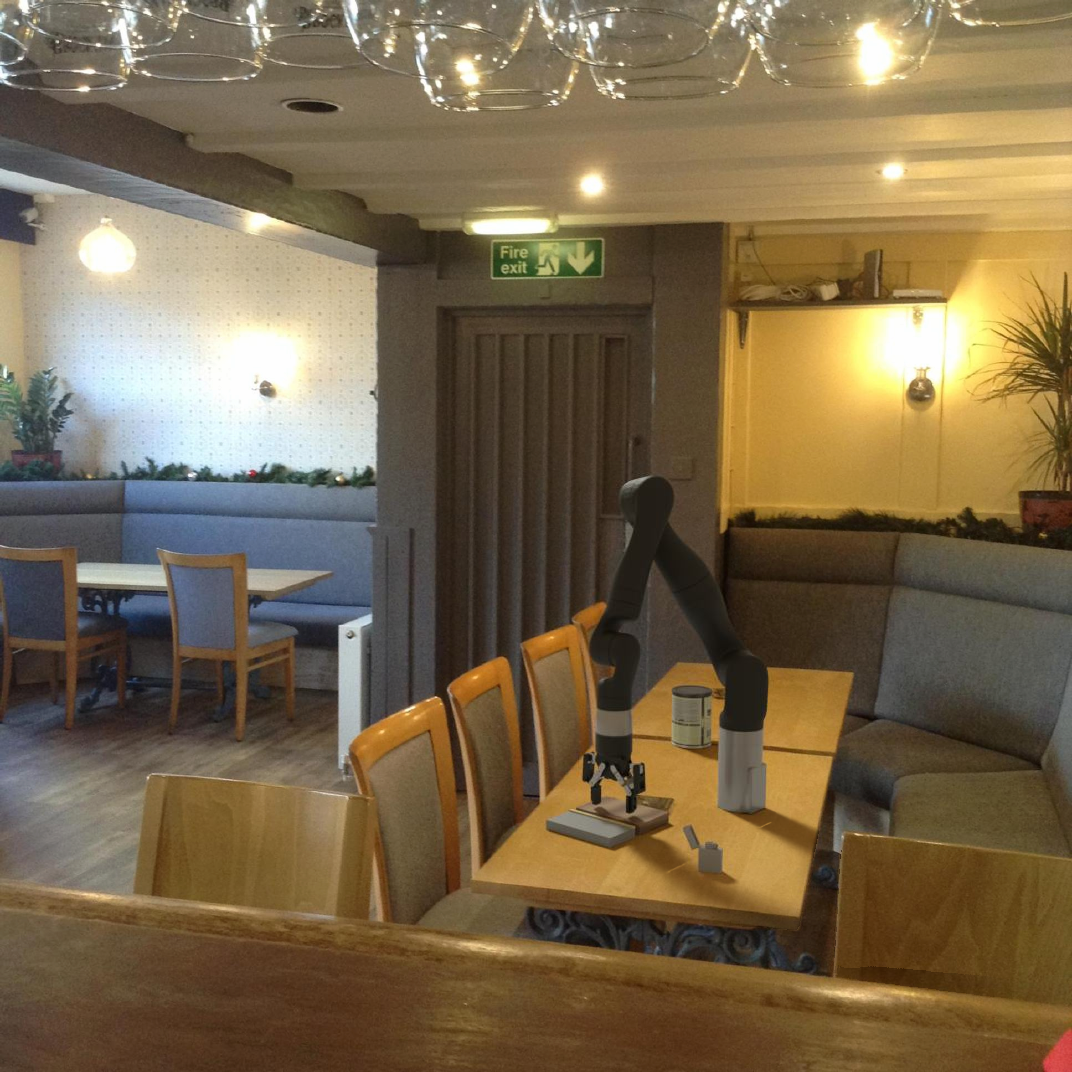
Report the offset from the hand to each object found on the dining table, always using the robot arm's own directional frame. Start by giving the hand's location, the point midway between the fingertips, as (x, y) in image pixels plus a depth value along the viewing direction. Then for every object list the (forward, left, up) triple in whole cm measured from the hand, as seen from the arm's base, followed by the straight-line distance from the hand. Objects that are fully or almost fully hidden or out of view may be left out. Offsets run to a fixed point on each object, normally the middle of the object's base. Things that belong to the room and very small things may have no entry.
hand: (613, 808), depth 239 cm
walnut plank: (-1, -2, -3) cm, 3 cm away
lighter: (-28, +10, -3) cm, 30 cm away
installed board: (-1, +9, -3) cm, 9 cm away
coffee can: (+22, -62, -3) cm, 66 cm away
